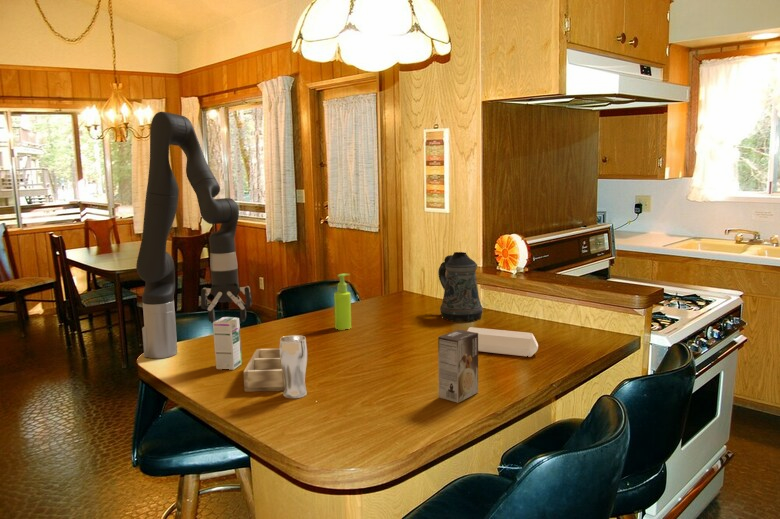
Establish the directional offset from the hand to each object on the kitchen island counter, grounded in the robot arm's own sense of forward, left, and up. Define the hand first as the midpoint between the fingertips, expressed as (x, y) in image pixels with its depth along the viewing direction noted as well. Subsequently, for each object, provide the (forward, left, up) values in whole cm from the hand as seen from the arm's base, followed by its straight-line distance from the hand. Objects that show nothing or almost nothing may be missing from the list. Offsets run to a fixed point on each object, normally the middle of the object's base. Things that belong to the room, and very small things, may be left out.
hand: (228, 322), depth 177 cm
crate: (+14, -11, -14) cm, 22 cm away
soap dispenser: (+33, +41, -14) cm, 54 cm away
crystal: (+83, +8, -14) cm, 84 cm away
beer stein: (+77, +54, -14) cm, 95 cm away
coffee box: (+64, -28, -14) cm, 71 cm away
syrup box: (0, 0, -14) cm, 14 cm away
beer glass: (+22, -24, -14) cm, 35 cm away
